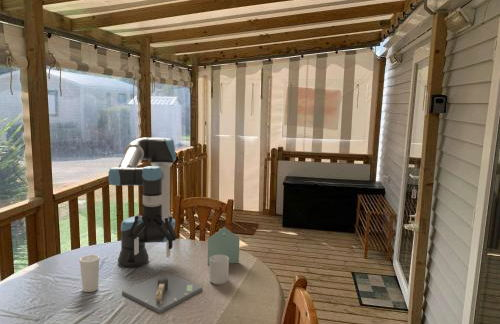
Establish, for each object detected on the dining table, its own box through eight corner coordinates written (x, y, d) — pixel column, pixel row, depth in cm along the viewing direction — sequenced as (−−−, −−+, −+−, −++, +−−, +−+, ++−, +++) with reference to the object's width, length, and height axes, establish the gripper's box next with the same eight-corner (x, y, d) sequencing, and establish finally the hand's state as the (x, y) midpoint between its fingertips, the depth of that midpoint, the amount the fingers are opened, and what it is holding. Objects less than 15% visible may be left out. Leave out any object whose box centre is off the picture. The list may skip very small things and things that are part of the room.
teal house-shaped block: (236, 257, 203) (237, 222, 200) (238, 263, 195) (240, 226, 192) (206, 258, 200) (207, 222, 197) (207, 264, 192) (208, 227, 190)
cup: (104, 287, 164) (103, 256, 163) (91, 295, 157) (90, 263, 155) (89, 283, 167) (88, 253, 165) (76, 291, 160) (74, 260, 158)
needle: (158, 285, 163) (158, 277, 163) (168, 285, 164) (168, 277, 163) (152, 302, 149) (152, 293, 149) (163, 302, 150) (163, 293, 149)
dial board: (122, 294, 159) (121, 290, 159) (165, 275, 178) (165, 271, 178) (159, 313, 145) (159, 309, 145) (202, 290, 164) (202, 286, 164)
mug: (226, 286, 169) (227, 262, 168) (207, 284, 170) (207, 261, 168) (230, 274, 181) (231, 252, 180) (212, 273, 182) (213, 251, 180)
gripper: (118, 205, 148) (119, 256, 151) (179, 208, 145) (179, 260, 148) (126, 200, 155) (127, 249, 158) (184, 204, 152) (184, 253, 155)
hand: (152, 254), depth 153 cm, fingers open, 13 cm apart
